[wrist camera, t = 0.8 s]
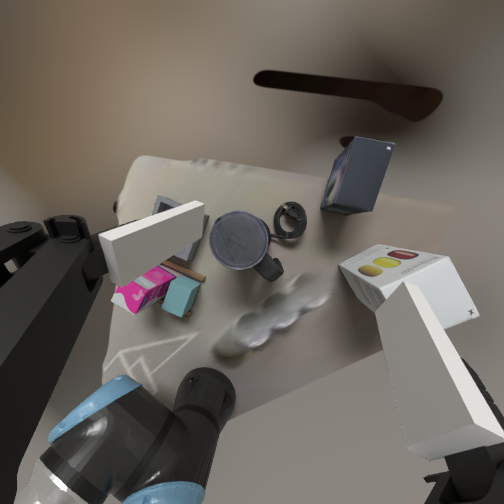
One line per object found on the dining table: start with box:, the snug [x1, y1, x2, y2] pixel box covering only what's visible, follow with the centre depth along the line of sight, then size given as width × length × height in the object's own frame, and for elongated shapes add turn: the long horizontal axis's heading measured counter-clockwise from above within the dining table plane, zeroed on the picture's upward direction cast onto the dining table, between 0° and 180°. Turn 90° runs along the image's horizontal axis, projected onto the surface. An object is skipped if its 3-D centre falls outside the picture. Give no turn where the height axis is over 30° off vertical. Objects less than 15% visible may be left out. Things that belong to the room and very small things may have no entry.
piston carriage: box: [162, 275, 200, 317], centre depth 43 cm, size 7×5×5 cm
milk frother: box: [209, 202, 307, 282], centre depth 35 cm, size 14×16×15 cm
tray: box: [152, 195, 209, 261], centre depth 43 cm, size 11×11×4 cm
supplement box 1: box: [111, 265, 176, 315], centre depth 41 cm, size 6×6×12 cm
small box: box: [320, 136, 395, 215], centre depth 34 cm, size 11×6×10 cm, turn 166°
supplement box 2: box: [338, 244, 479, 329], centre depth 32 cm, size 10×9×17 cm
